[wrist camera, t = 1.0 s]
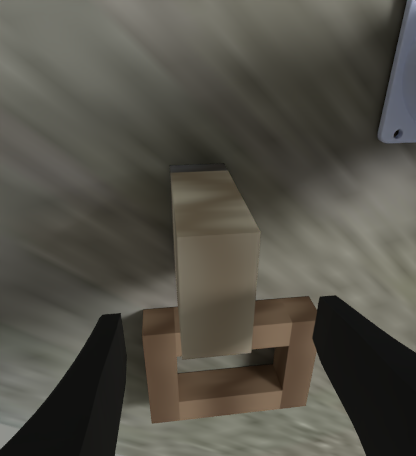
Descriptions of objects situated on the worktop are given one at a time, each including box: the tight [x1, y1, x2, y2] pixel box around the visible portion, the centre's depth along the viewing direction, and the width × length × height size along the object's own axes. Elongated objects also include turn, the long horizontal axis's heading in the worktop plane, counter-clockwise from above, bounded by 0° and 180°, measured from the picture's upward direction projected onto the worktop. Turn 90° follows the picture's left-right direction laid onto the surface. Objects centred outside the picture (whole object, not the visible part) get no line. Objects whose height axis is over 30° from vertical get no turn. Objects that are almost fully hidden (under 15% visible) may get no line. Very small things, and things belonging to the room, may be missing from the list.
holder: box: [142, 296, 317, 423], centre depth 26 cm, size 11×8×2 cm
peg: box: [170, 164, 261, 360], centre depth 18 cm, size 3×6×8 cm, turn 0°
